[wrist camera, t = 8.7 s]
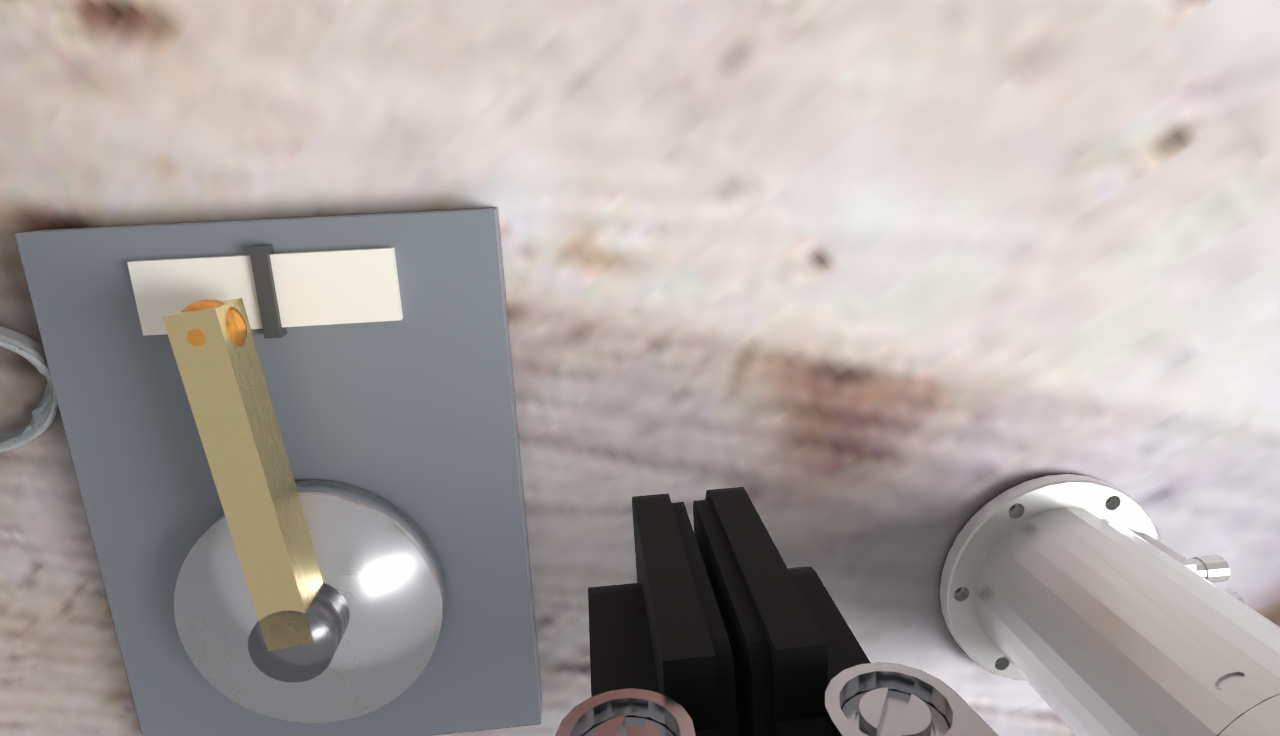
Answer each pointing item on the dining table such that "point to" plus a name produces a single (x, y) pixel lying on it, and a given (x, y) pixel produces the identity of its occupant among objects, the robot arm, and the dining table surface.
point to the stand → (302, 432)
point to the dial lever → (292, 554)
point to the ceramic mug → (48, 404)
